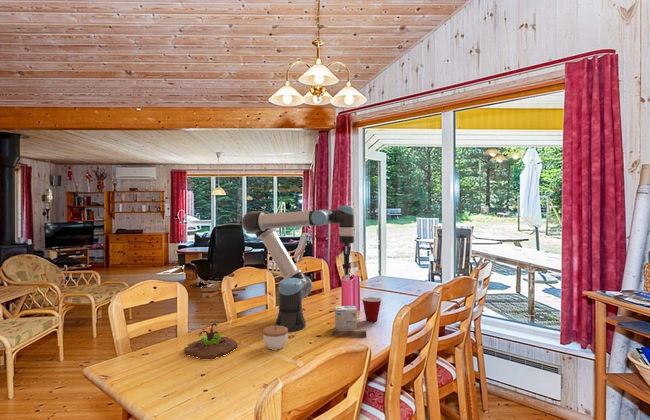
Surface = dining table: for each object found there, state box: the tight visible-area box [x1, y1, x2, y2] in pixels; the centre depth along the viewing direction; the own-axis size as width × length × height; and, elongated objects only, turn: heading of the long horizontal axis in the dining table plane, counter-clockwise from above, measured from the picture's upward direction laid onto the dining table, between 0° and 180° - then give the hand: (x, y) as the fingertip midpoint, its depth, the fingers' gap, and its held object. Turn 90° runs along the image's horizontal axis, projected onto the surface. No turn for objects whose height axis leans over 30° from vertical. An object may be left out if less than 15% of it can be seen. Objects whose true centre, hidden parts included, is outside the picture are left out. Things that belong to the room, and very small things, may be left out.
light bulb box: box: [334, 305, 358, 330], centre depth 178 cm, size 11×7×11 cm, turn 92°
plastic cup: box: [361, 296, 383, 323], centre depth 191 cm, size 11×11×12 cm
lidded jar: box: [262, 325, 289, 351], centre depth 156 cm, size 11×11×9 cm
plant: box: [183, 322, 238, 360], centre depth 154 cm, size 20×20×11 cm
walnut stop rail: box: [331, 328, 367, 338], centre depth 169 cm, size 16×2×2 cm, turn 84°
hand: (346, 280), depth 188 cm, fingers closed
